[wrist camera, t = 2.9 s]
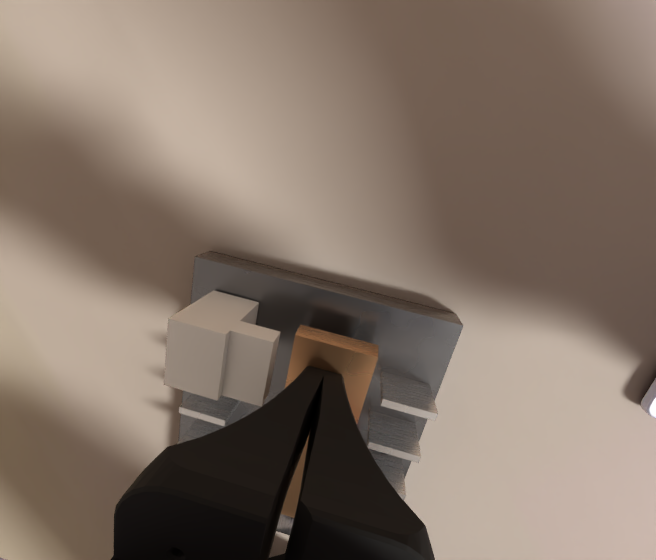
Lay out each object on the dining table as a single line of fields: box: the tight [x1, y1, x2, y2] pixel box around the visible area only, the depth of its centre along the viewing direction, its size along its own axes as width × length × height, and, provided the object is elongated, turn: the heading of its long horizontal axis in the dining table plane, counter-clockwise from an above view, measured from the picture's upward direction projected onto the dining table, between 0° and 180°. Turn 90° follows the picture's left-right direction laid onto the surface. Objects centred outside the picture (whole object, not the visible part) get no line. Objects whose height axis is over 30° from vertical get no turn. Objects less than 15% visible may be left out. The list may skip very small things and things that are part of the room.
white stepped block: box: [164, 290, 280, 407], centre depth 12 cm, size 4×3×3 cm
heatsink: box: [177, 251, 463, 501], centre depth 14 cm, size 11×13×3 cm
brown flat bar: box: [276, 324, 378, 535], centre depth 13 cm, size 4×11×1 cm, turn 168°
